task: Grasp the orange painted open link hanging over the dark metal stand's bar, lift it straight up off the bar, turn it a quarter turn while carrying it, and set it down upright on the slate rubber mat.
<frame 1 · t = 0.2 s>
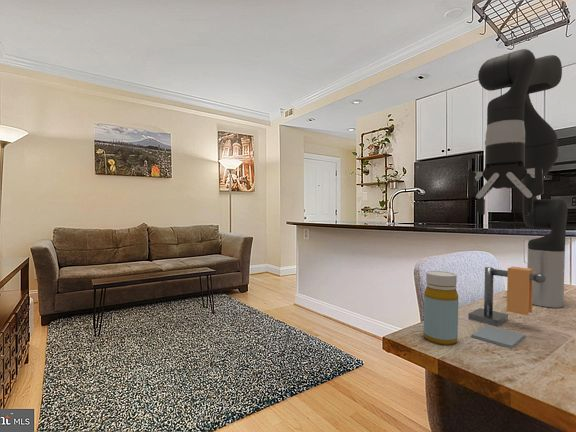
hand: (503, 215, 74), 28 cm above the table, fingers open, 8 cm apart
stand: (488, 319, 88), on the table
link: (519, 311, 82), point 4 cm above the table, touching stand
bottle: (440, 340, 74), on the table
mat: (498, 337, 75), on the table
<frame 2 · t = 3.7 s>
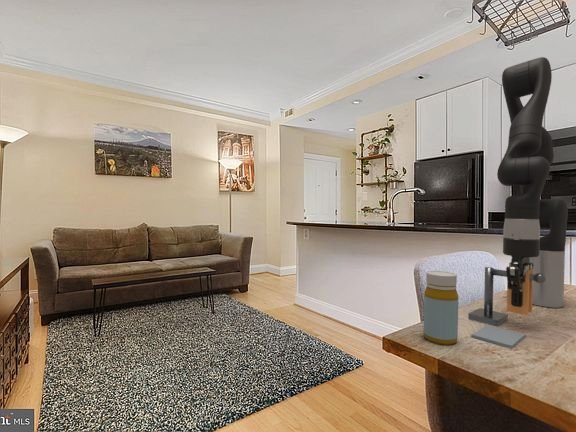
hand: (519, 304, 82), 6 cm above the table, fingers closed on link, 4 cm apart
link: (519, 311, 82), point 4 cm above the table, touching gripper, stand
everything else where it was.
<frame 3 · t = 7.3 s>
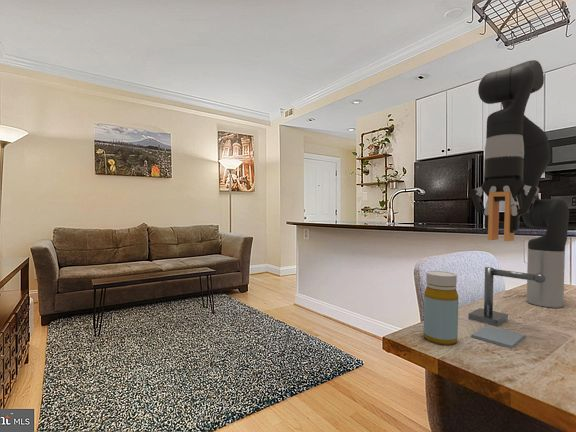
hand: (501, 231, 75), 24 cm above the table, fingers closed on link, 4 cm apart
link: (500, 240, 75), point 23 cm above the table, touching gripper
everything else where it was.
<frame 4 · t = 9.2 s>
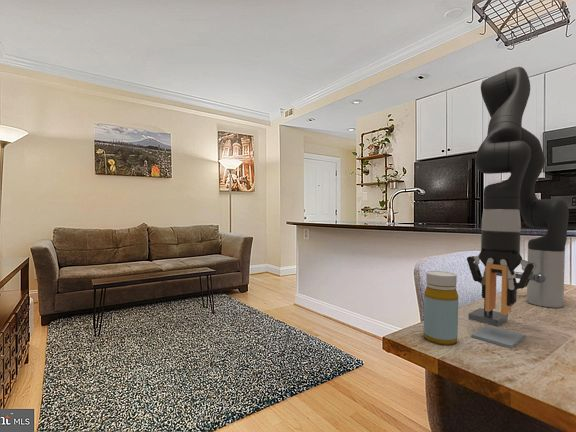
hand: (498, 302, 75), 8 cm above the table, fingers closed on link, 4 cm apart
link: (498, 311, 75), point 6 cm above the table, touching gripper
everything else where it was.
when the fingers open (4 cm above the table, at t = 10.8 s): link drops 1 cm, resting on mat.
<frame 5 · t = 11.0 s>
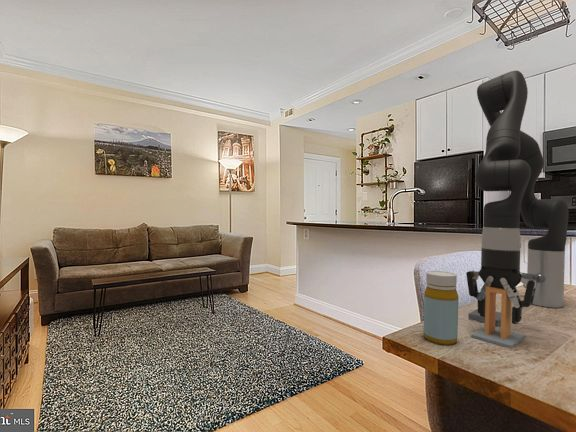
hand: (498, 319, 75), 4 cm above the table, fingers open, 6 cm apart
link: (497, 334, 75), point 1 cm above the table, touching mat
everything else where it was.
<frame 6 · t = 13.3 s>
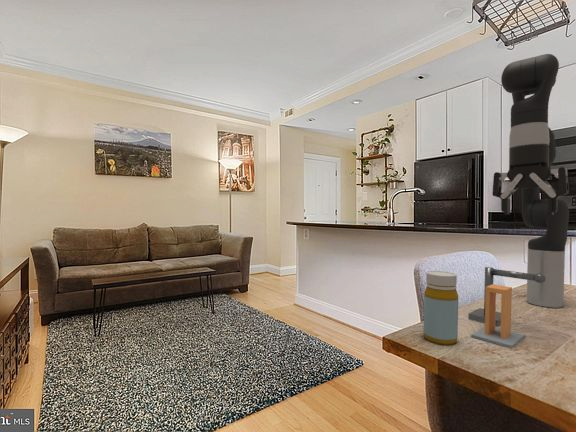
hand: (528, 214, 77), 29 cm above the table, fingers open, 8 cm apart
nothing on the table moved.
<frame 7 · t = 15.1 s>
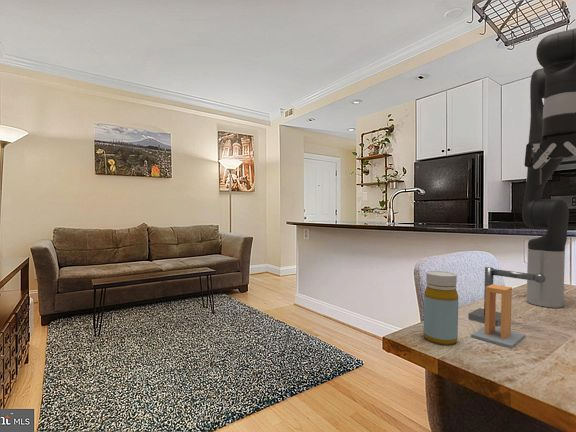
hand: (560, 183, 78), 36 cm above the table, fingers open, 8 cm apart
nothing on the table moved.
at the end: link inside the target area on the mat (0.1 cm from its centre), point 0.6 cm above the mat's base; link tilted 0°; the gripper is holding nothing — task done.
